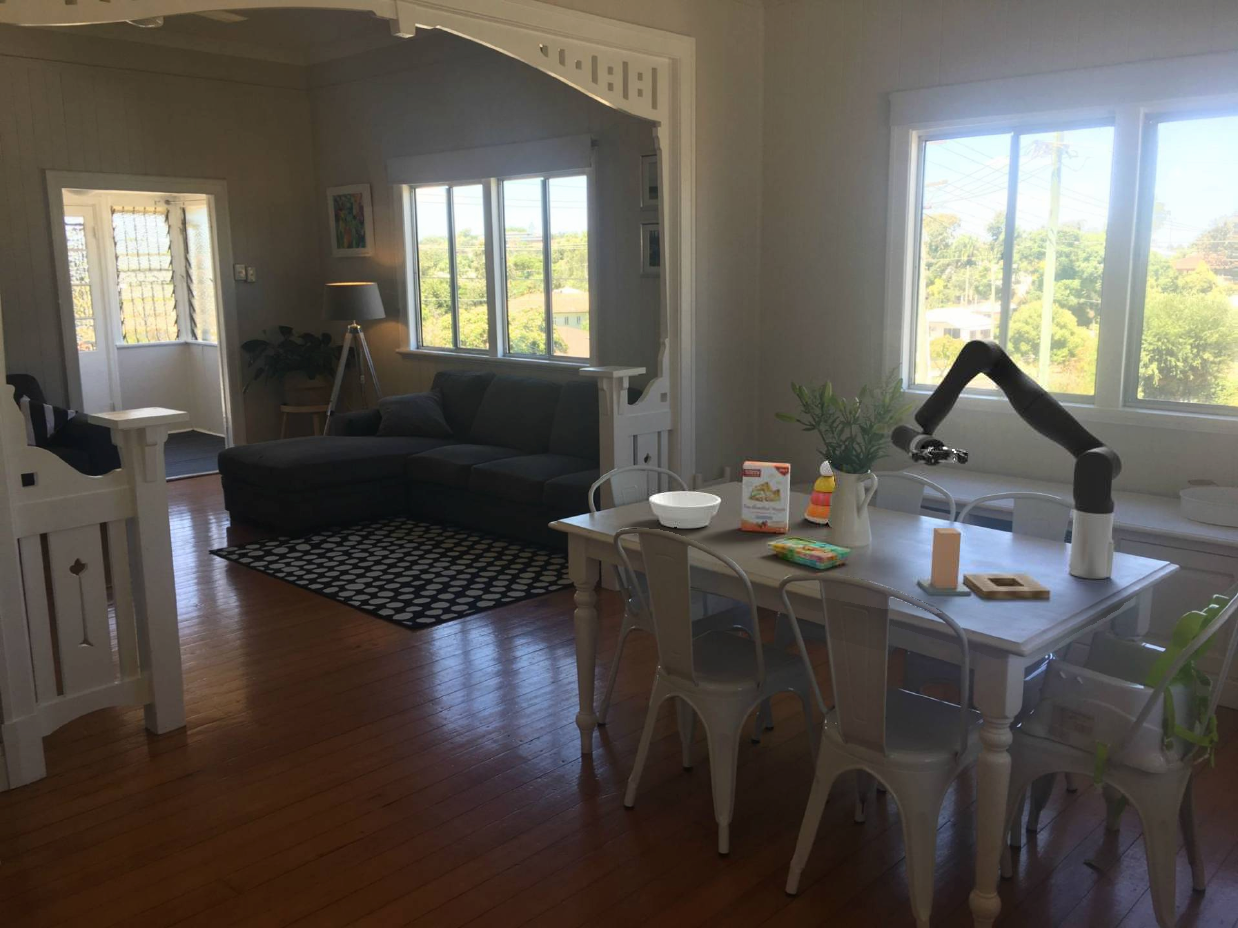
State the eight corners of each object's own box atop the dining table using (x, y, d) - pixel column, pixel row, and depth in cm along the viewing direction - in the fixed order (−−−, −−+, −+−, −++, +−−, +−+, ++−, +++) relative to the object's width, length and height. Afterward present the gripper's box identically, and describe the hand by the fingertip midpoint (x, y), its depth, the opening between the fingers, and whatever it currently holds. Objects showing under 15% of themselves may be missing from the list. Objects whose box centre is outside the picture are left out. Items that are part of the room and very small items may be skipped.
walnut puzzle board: (1025, 581, 256) (1026, 573, 256) (1049, 598, 243) (1050, 590, 242) (963, 581, 256) (963, 574, 256) (983, 598, 242) (984, 590, 242)
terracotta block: (950, 582, 252) (953, 527, 250) (957, 588, 247) (961, 532, 245) (930, 582, 252) (933, 527, 250) (937, 588, 247) (940, 532, 245)
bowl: (717, 516, 327) (718, 491, 325) (723, 533, 305) (723, 506, 303) (648, 516, 327) (648, 490, 326) (648, 533, 305) (649, 506, 304)
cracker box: (740, 531, 307) (742, 464, 303) (743, 526, 313) (744, 460, 309) (787, 534, 304) (789, 466, 300) (788, 529, 310) (790, 462, 306)
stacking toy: (838, 514, 329) (841, 456, 325) (858, 525, 315) (860, 464, 312) (797, 517, 326) (799, 457, 322) (815, 527, 312) (817, 465, 309)
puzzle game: (823, 554, 265) (766, 540, 280) (822, 572, 265) (766, 556, 281) (851, 547, 272) (794, 533, 287) (850, 564, 273) (793, 549, 288)
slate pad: (956, 582, 255) (956, 579, 255) (970, 595, 245) (971, 591, 245) (917, 583, 255) (917, 579, 255) (930, 595, 245) (930, 591, 245)
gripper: (902, 436, 274) (921, 445, 258) (954, 436, 274) (976, 445, 258) (900, 463, 275) (919, 474, 259) (952, 463, 275) (974, 474, 259)
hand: (947, 460), depth 259 cm, fingers open, 8 cm apart
